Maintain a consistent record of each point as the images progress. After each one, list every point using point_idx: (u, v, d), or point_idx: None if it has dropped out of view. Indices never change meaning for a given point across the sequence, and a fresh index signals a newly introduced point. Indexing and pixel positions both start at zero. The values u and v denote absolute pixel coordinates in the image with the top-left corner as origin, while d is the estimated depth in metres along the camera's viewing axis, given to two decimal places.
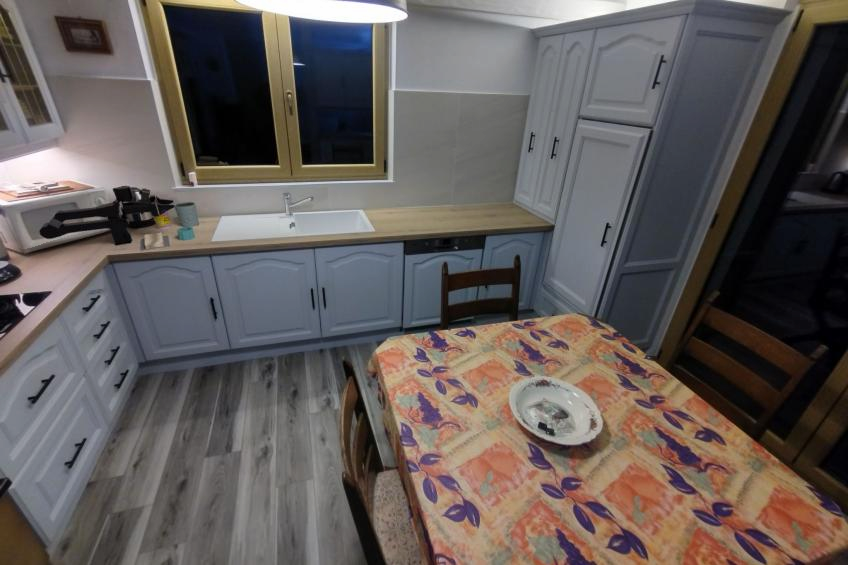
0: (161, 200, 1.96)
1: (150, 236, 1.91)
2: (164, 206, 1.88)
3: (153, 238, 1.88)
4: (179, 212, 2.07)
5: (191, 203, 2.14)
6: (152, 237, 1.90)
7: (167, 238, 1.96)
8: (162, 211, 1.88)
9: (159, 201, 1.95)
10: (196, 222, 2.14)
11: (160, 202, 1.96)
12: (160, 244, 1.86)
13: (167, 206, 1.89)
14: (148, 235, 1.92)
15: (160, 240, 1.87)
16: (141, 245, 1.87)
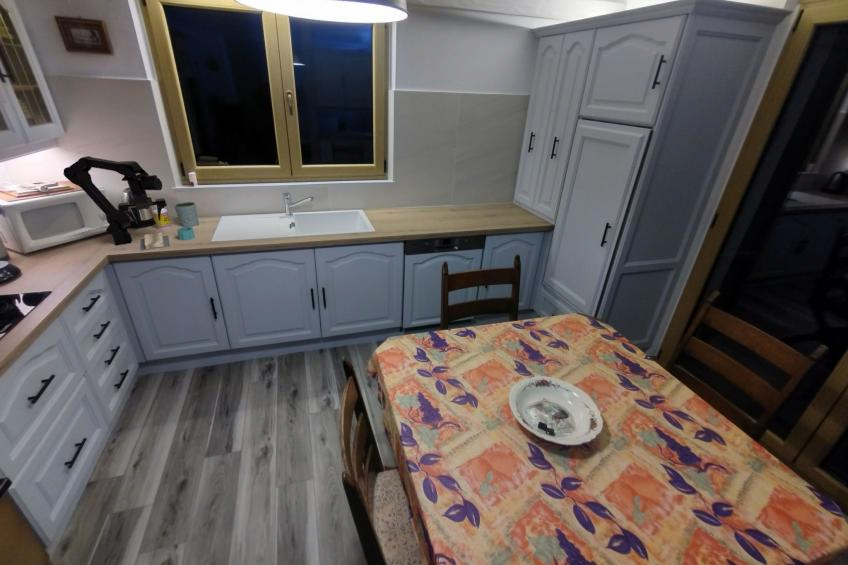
0: None
1: (150, 236, 1.91)
2: None
3: (153, 238, 1.88)
4: (179, 212, 2.07)
5: (191, 203, 2.14)
6: (152, 237, 1.90)
7: (167, 238, 1.96)
8: None
9: (157, 209, 1.85)
10: (196, 222, 2.14)
11: (157, 209, 1.85)
12: (160, 244, 1.86)
13: (132, 218, 1.81)
14: (148, 235, 1.92)
15: (160, 240, 1.87)
16: (141, 245, 1.87)
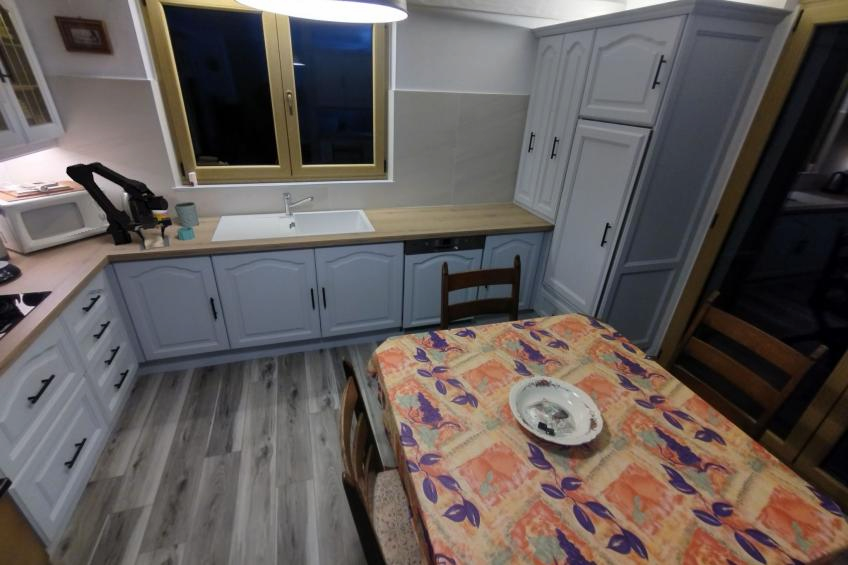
0: (161, 230, 1.89)
1: (150, 236, 1.91)
2: None
3: (153, 238, 1.88)
4: (179, 212, 2.07)
5: (191, 203, 2.14)
6: (152, 237, 1.90)
7: (167, 238, 1.96)
8: None
9: None
10: (196, 222, 2.14)
11: None
12: (160, 244, 1.86)
13: None
14: (148, 235, 1.92)
15: (160, 240, 1.87)
16: (141, 245, 1.87)
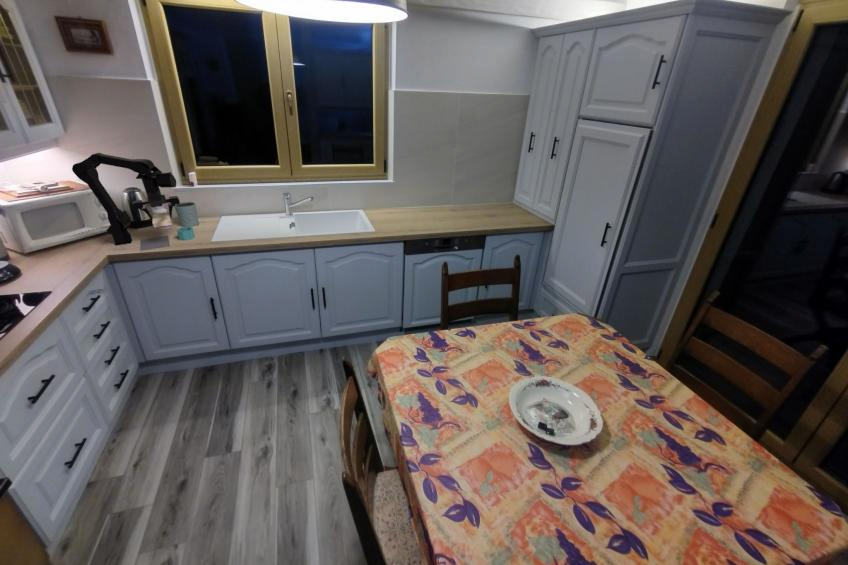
0: None
1: (157, 215, 1.89)
2: None
3: (161, 217, 1.86)
4: (179, 212, 2.07)
5: (191, 203, 2.14)
6: (160, 216, 1.88)
7: (167, 238, 1.96)
8: None
9: (168, 206, 1.87)
10: (196, 222, 2.14)
11: None
12: (168, 223, 1.84)
13: (148, 215, 1.84)
14: (156, 214, 1.90)
15: (168, 219, 1.84)
16: (141, 245, 1.87)
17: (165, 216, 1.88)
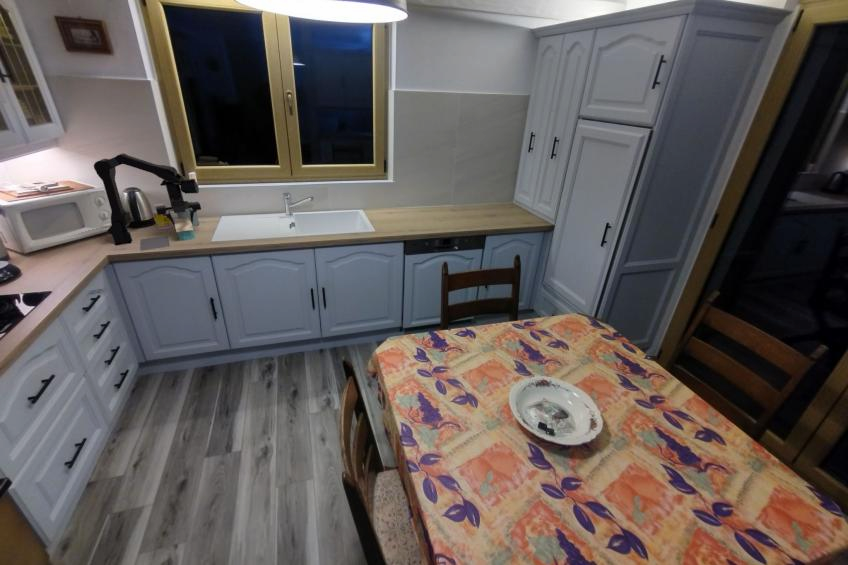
0: (190, 214, 1.93)
1: (179, 220, 1.95)
2: None
3: (183, 222, 1.92)
4: (179, 212, 2.07)
5: None
6: (181, 221, 1.94)
7: (167, 238, 1.96)
8: None
9: (190, 212, 1.93)
10: (196, 222, 2.14)
11: None
12: (190, 228, 1.90)
13: (170, 220, 1.90)
14: (177, 219, 1.96)
15: (190, 224, 1.91)
16: (141, 245, 1.87)
17: (186, 221, 1.94)
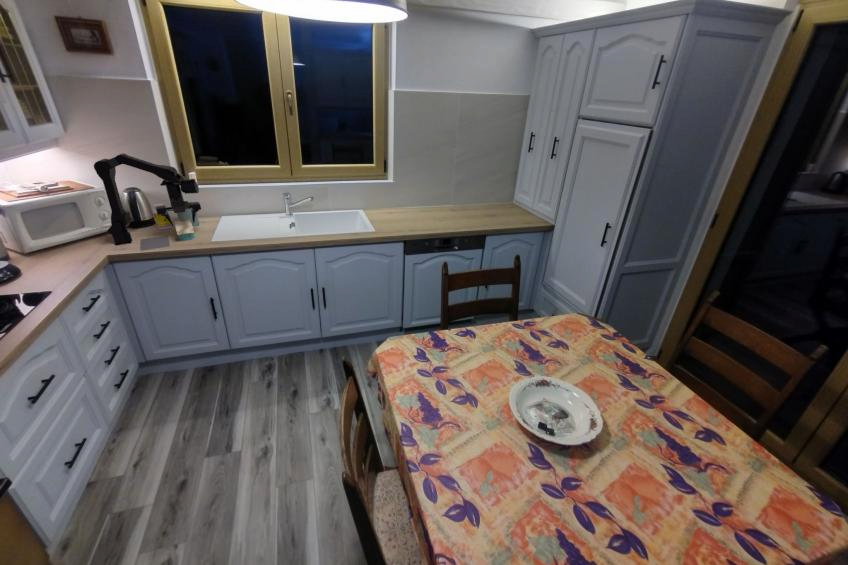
0: (192, 214, 1.93)
1: (179, 223, 1.96)
2: None
3: (184, 225, 1.93)
4: (179, 212, 2.07)
5: None
6: (182, 223, 1.95)
7: (167, 238, 1.96)
8: None
9: None
10: (196, 222, 2.14)
11: None
12: (191, 230, 1.91)
13: None
14: (178, 222, 1.97)
15: (190, 226, 1.91)
16: (141, 245, 1.87)
17: (187, 224, 1.95)
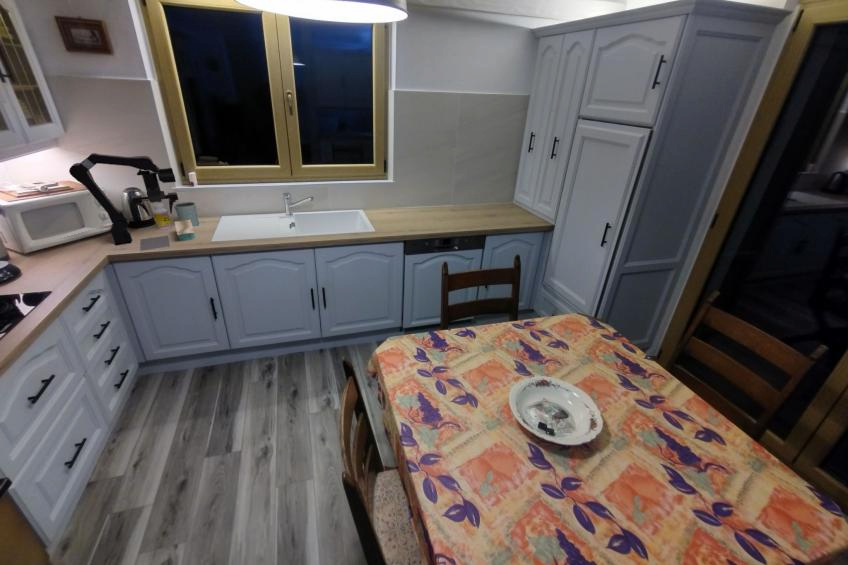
0: (169, 204, 1.93)
1: (179, 223, 1.96)
2: None
3: (184, 225, 1.93)
4: (179, 212, 2.07)
5: (191, 203, 2.14)
6: (182, 223, 1.95)
7: (167, 238, 1.96)
8: None
9: (169, 202, 1.93)
10: (196, 222, 2.14)
11: (169, 202, 1.93)
12: (191, 230, 1.91)
13: (145, 210, 1.89)
14: (178, 222, 1.97)
15: (190, 226, 1.91)
16: (141, 245, 1.87)
17: (187, 224, 1.95)
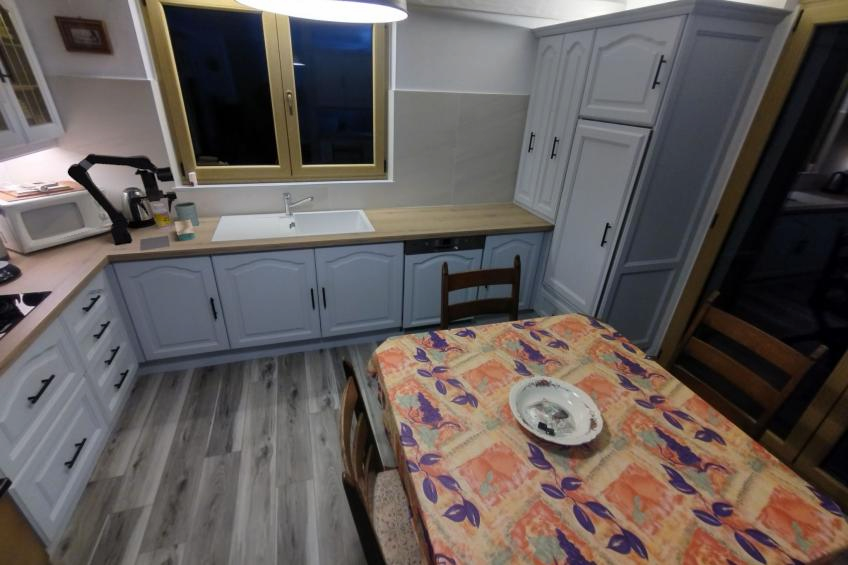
0: (168, 203, 1.93)
1: (179, 223, 1.96)
2: None
3: (184, 225, 1.93)
4: (179, 212, 2.07)
5: (191, 203, 2.14)
6: (182, 223, 1.95)
7: (167, 238, 1.96)
8: None
9: None
10: (196, 222, 2.14)
11: None
12: (191, 230, 1.91)
13: (144, 210, 1.89)
14: (178, 222, 1.97)
15: (190, 226, 1.91)
16: (141, 245, 1.87)
17: (187, 224, 1.95)
